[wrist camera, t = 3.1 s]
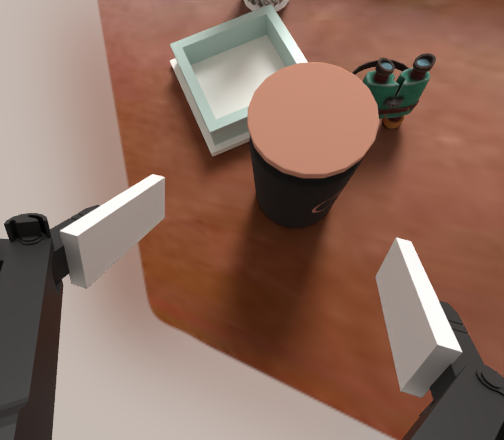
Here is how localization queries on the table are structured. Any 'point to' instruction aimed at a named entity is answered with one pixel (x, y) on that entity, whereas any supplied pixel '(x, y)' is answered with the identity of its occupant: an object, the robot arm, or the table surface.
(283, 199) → the coffee jar
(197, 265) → the table surface
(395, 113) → the binoculars
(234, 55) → the pocket tray
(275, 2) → the decorative candle
